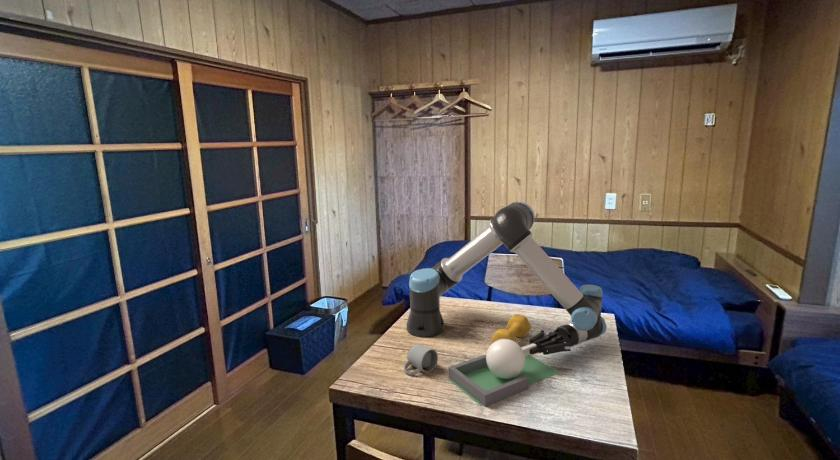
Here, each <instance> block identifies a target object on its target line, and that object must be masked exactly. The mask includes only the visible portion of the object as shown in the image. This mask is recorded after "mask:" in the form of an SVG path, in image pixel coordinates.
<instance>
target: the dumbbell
mask: <svg viewBox="0 0 840 460" xmlns="http://www.w3.org/2000/svg"><path fill="white" fill-rule="evenodd" d="M506 327H507V329H506V328H498V329H497V330H496V332H494V334H493V336H492V337H491V344H492V343H494V342H495V341H497V340H500V339H509V340H512V341H514V342H516V343H517V344H518V340H517V338H521V339H524V338H525V337H526V336H528V334H529V332H530V331H531V330H532V326H531V323H530V320H529V319H528V317H527V316H525V315H522V314H513V315H512V316H511V318H510V319H509V320H508V322H507V325H506Z"/></svg>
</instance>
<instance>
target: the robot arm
mask: <svg viewBox="0 0 840 460" xmlns="http://www.w3.org/2000/svg"><path fill="white" fill-rule="evenodd" d="M535 217H536V216H535V213H534V210H533V209H532V207H531V206H530V205H529V204H527V203H525V202H522V201H514V202H511V203H510V204H508V205H506V206H504V207H501V208H500V209H499V210H497V212H496V213H495V215H494V216H493V217H492V218H491V219H490V220H489V221H490V222H489V223H490V224H489V225H488V226H487V227H486V228H485V229H484V230H483V231H481V232H480V233H479V234H477V235H476V236H475V237H474V238H472V239H471V240H470V241H469V242H468V243H466V244H465V245H464V246H463V247H461V248H460V249H459V250H458V251H456V252H455V253H454V254H453V255H452V256H450V257H444V258H442V259H441V260H440V261H438V262H437V263H436V264H435V265H434V266H432V267H431V268H430V267H429V268H428V267H427V268H421V269H416V270H414V271H412V273H411V274H410V276H409V281H408V286H409V303H410V304H409V305H410V308H409V309H410V311H409V315H408V317H407V321H406V331H407V332H408V333H409V335H412V336H415V337H423V338H426V337H427V338H429V337H434V336H438V335H441V334H442V333H443V332H444V331H445V321H444V318H443V316H442V313H441V310H440V309H441V308H440V302H441V301H440V300H441V299H440V298H441V297H442V296H443V295H444V294H445V293H447V292H448V291H451V290H452V289H453V288H454V287H455V286H456V285H457V284H459V283H460V282H461V281H462V279H463V275H465V273H467V272H468V271H470V270H471V269H473V268H474V266H476V265H478V264H479V263H480V262H481V261H483V260H484V259H485V258H486V257H487V256H489V255H490V254H492V253H493V252H494V251H496V250H497V249H498V248H500V247H501V246H502V245H504V246H505V248H507V250H508V251H509V252H510V253H515V254H516V255H517V256H518V258H519V259H520V260H521V261H522V262H523V263H524V264H525V266H527V268H528V269H529V270H530V271H531V273H533V274H534V276H535V277H536V278H537V279H538V280H539V281H540V283H541V284H542V285H543V286H544V287H545V288H546V289H547V290H548V291H549V293H550V294H552V296H553V297H554V298H555V300H557V301H558V303H559V304H560V305H561V306H562V307H563V308H564V310H565V311H566V312H567V313H568V314H569V315H570V321H571V322H570V323H566V324H563V325H560V326H558V327H557V328H556V329H555V330H554V331H550V332H545V330H544V329H540V332H539V333H537V334H536V335H534V336H533V337H531V338H529V339H528V344H526V345H524V346H520V347H521V348H522V350H523V352H524V355H525V357H526V356H529V355H530V356H532V355H535V354H536V355H537V354H543V355H544V356H547V355H551V354H557V353H562V352H571V351H572V347H574V346H578V345H580V344H583V343H585V342H587V341H590V340H593V339H597V338H599V337H600V336H602V335H603V334H605V333H606V331H607V327H608V326H607V324H606V320H605V319H604V317H602V304H603V297H604V295H603V289H602V287H601V286H598V285H596V284H583V285H581V286H580V288H579V289H578V288H577V287H576V285H575V284H574V282H572V281H571V280H570V279H569V277H568V276H567V275H566V274H565V273H564V272H563V271H562V270H561V269H560V267H559V266H558V265H557V264H556V263H555V261H553V260H552V258H551V257H550V256H549V255H548V254H547V253H546V252H545V251H544V250H543V248H542V247H541V246H540V245H539V244H538V243H537V242H536V241H535V239H534V238H533V232H532V231H530V229H532V227H533V225H534V223H535Z"/></svg>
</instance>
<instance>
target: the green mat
mask: <svg viewBox="0 0 840 460" xmlns="http://www.w3.org/2000/svg"><path fill="white" fill-rule="evenodd" d="M558 374H560V371H558V370H557V369H555V368H552V366H549V365H547V364H546V363H544V362H542V361H541V360H539V359H537V358H535V357H534V356H532V355H529V356H526V357H525V365H524V368H523V370H522V372H521V373H520V374H519V375H518V376H516V377H514V378H511V379H502V378H499V377H497V376H495V375H494V374H493V373H492V372H491V371H490V369H489V368H488V366H487V367H485V368H482V369H479V370H476V371H474V372H471V373H468V374H465V376H466V377H468V378H469V379H470V380H472V381H473V382H474V383H476V384H477V385H478V386H480V387H481V388H482V389H484V390H485V391H487V390H490V389H492V388H495V387H497V386H500V385H502V384H505V383H507V382H510V381H513V380H515V379H518V378H520V377H523V376H526V377H528V387H529V386H531V385H534V384H536V383H539V382H541V381H544V380H546V379H548V378H549V379H550V378H551V377H553V376H555V375H558ZM448 381H449V382H450V383H452V384H453V385H454V386H455V387H456V388H458V389H459V390H460V391H462V392H463V393H464V394H465V395H466V396H468V397H469V398H470V399H472V400H473V401H474V402H475V403H476V404H478V405H479V406H480V407H481V406H483V405H482V404H481V403H480V402H479V401H477V400H476V399H475V398H474V397H472V396H471V395H470V394H469V393H467V392H466V391H465V390H464V389H462V388H461V387H460V386H459V385H457V384H456V383H455V382H454V381H452V380H451V379H450V378H448Z"/></svg>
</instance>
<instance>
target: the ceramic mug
mask: <svg viewBox="0 0 840 460" xmlns="http://www.w3.org/2000/svg"><path fill="white" fill-rule="evenodd" d="M406 354H407V356H406V359H407V362H406V363H405V364H404V365H403V371H404V373H405V374H406V375H408V376H416V375H418V373H420V372H423V373H426V374H428V373H430V372H432V371H434V369H435V368H436V366H437V365H438V361H439V360H438V359H439V355H438V352H437V351H436V350H435V348H434V349H433V348H432V347H428V346H425V345H423V344H413V345H412V346H411V347H410V348H409V349H408V352H407V353H406ZM410 365H411V366H413V367H414V368H416V369H414V370H411V371H408V370H407V369H408V367H409V366H410ZM425 368H426V369H428V370H426V369H425Z"/></svg>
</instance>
